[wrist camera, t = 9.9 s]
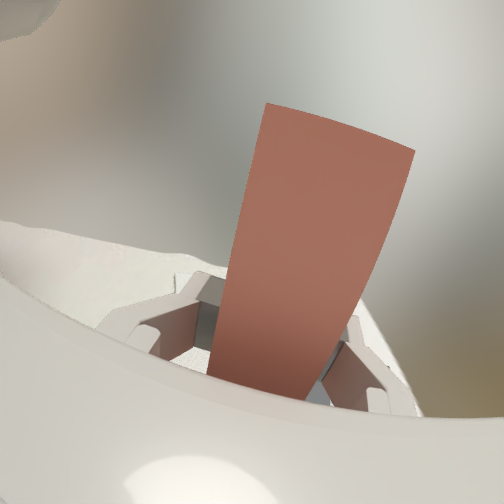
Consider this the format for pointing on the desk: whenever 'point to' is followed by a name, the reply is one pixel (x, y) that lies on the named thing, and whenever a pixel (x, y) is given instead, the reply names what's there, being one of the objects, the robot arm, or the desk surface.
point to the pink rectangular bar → (303, 248)
